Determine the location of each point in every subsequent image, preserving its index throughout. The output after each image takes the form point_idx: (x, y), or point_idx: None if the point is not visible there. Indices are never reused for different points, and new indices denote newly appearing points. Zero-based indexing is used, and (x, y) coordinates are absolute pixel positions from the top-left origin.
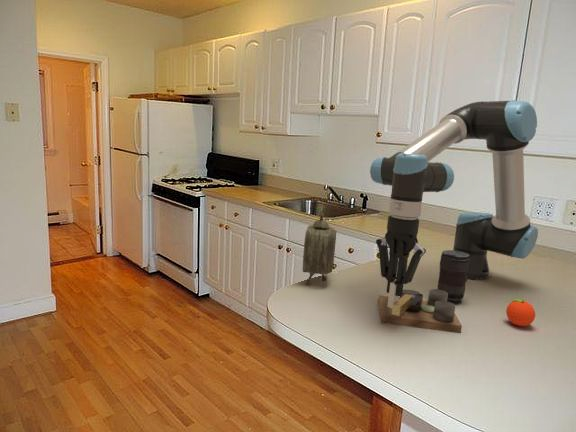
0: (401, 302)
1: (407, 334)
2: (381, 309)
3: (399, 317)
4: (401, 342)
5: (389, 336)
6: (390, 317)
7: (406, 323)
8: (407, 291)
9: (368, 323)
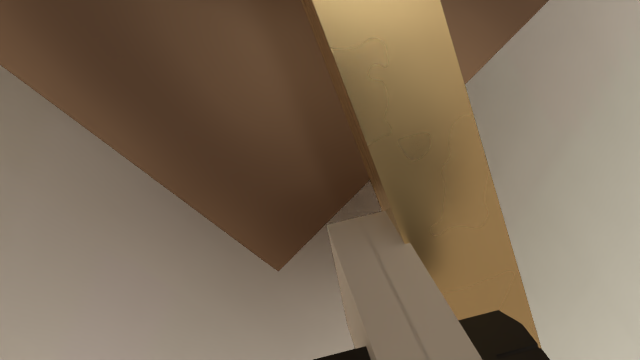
0: (476, 258)
1: (517, 189)
2: (160, 173)
3: None
4: (558, 310)
5: None
6: (333, 209)
7: None
8: None
9: (235, 328)
